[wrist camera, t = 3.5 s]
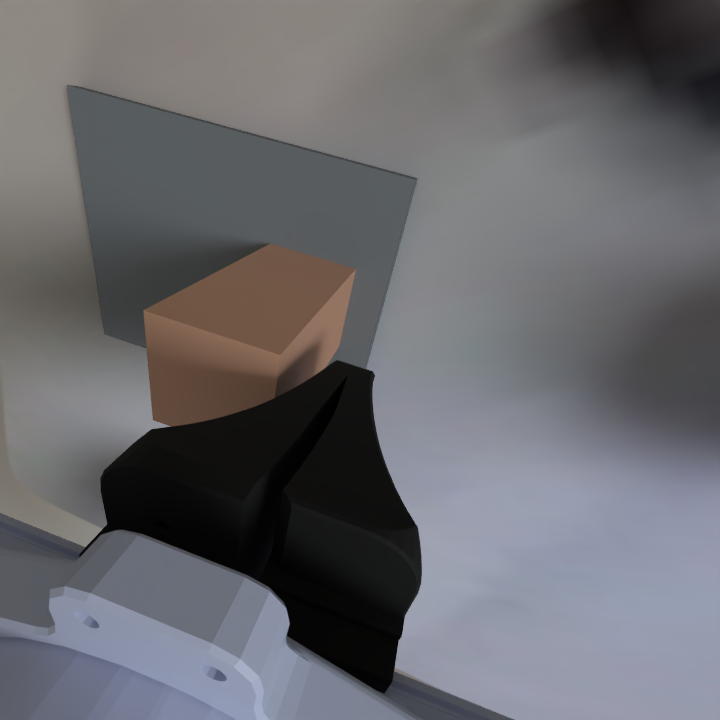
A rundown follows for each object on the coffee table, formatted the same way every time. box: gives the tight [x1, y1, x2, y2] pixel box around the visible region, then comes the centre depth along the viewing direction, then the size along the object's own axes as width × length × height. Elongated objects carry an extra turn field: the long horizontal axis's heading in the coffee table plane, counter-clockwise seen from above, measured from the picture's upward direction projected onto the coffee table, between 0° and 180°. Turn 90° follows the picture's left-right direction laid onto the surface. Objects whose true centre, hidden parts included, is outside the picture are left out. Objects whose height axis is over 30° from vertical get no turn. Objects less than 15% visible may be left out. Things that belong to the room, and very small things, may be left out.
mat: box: [67, 85, 417, 369], centre depth 19 cm, size 12×15×1 cm
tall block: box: [143, 244, 356, 427], centre depth 15 cm, size 4×4×8 cm
